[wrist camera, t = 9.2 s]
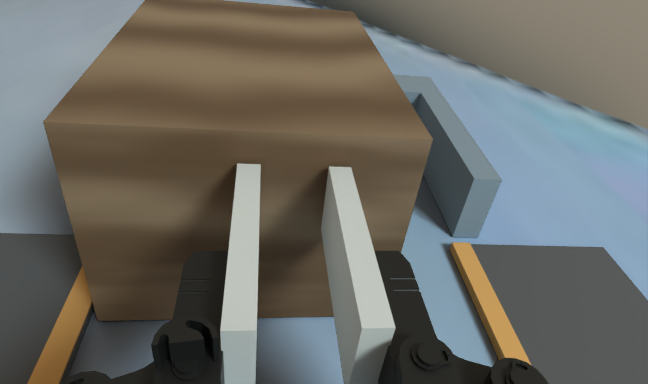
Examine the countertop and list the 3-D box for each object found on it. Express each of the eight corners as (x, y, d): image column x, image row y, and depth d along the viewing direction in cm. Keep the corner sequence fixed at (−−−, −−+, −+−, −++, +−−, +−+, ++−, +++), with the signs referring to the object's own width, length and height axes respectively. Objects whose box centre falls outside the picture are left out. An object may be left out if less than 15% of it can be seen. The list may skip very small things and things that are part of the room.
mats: (792, 487, 16) (802, 481, 16) (-382, 557, 11) (-398, 550, 11) (599, 252, 26) (603, 246, 26) (-83, 237, 21) (-88, 229, 21)
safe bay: (477, 237, 26) (501, 179, 23) (84, 227, 23) (66, 160, 20) (417, 124, 36) (429, 77, 34) (145, 108, 34) (138, 55, 31)
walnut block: (382, 315, 20) (433, 139, 15) (97, 320, 18) (43, 121, 13) (335, 139, 33) (353, 12, 28) (164, 132, 31) (150, -6, 26)
